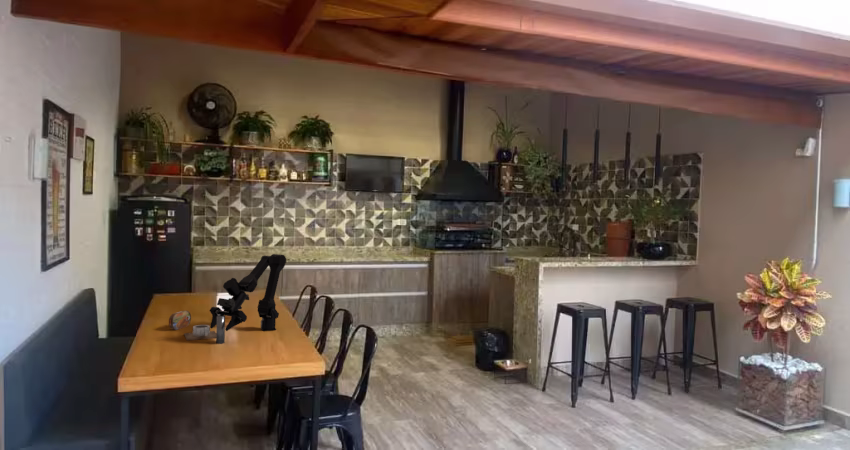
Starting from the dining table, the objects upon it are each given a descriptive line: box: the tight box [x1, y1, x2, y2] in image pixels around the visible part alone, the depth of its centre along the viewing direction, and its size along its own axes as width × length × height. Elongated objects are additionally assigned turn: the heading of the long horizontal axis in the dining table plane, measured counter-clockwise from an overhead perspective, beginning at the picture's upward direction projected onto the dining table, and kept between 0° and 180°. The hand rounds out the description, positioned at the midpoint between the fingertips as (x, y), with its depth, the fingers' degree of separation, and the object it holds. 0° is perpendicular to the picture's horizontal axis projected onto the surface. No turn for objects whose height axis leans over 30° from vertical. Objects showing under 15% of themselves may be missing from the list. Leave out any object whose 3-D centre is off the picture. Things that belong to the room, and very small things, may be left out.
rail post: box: [215, 315, 226, 345], centre depth 256 cm, size 4×4×12 cm
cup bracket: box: [192, 324, 211, 337], centre depth 267 cm, size 7×7×4 cm
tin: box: [168, 310, 192, 331], centre depth 283 cm, size 15×3×8 cm, turn 168°
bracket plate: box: [183, 330, 216, 341], centre depth 267 cm, size 14×12×1 cm
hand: (218, 329), depth 255 cm, fingers open, 9 cm apart
